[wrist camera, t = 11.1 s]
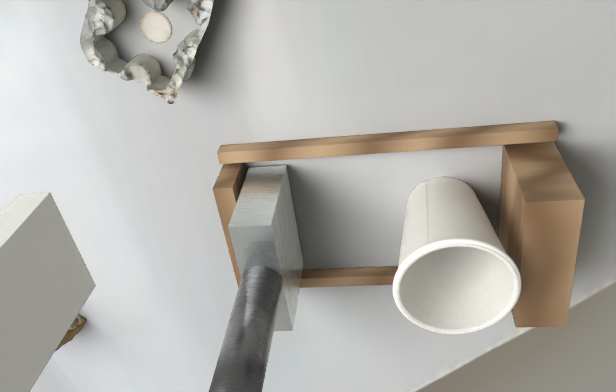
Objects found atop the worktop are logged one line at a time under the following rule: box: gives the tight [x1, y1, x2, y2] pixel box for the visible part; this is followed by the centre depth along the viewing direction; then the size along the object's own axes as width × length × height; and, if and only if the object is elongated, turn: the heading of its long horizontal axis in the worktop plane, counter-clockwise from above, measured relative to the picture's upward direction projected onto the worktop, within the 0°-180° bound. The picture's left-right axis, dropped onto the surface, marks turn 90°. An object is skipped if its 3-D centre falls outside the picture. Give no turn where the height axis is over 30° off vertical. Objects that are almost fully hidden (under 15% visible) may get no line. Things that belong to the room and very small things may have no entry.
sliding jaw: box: [209, 165, 303, 392], centre depth 40 cm, size 3×10×22 cm, turn 7°
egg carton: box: [80, 0, 214, 104], centre depth 39 cm, size 11×8×4 cm
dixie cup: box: [393, 177, 521, 334], centre depth 43 cm, size 8×8×10 cm
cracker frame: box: [213, 121, 585, 327], centre depth 44 cm, size 25×14×8 cm, turn 98°
